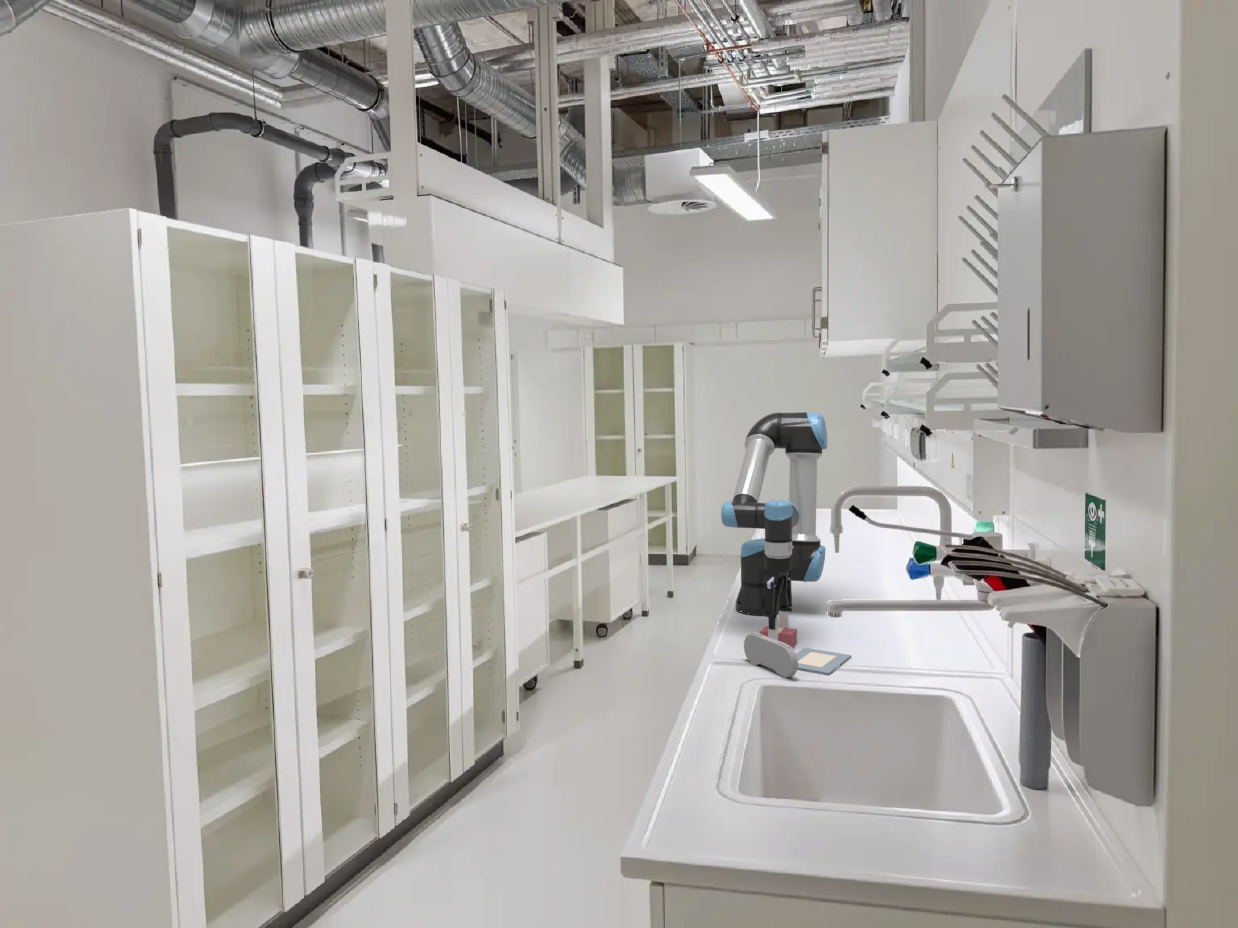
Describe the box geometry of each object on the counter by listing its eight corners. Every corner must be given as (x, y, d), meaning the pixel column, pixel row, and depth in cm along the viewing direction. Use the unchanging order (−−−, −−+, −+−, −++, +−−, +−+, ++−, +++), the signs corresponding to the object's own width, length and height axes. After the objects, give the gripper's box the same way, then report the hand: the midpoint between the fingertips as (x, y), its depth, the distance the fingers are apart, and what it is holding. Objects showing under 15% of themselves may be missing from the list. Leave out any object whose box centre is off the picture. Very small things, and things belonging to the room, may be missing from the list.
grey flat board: (804, 649, 228) (804, 647, 228) (851, 657, 221) (851, 654, 221) (780, 666, 214) (780, 664, 214) (828, 675, 207) (828, 672, 207)
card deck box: (765, 639, 238) (765, 625, 237) (796, 643, 234) (796, 628, 234) (759, 645, 232) (759, 631, 232) (791, 649, 229) (791, 634, 228)
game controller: (799, 680, 204) (799, 647, 203) (791, 681, 203) (791, 648, 202) (750, 659, 221) (750, 628, 220) (743, 660, 220) (743, 629, 219)
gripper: (776, 563, 221) (776, 648, 223) (804, 551, 237) (804, 630, 239) (751, 560, 225) (751, 643, 227) (779, 549, 241) (779, 627, 243)
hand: (778, 636), depth 233 cm, fingers closed on card deck box, 6 cm apart
